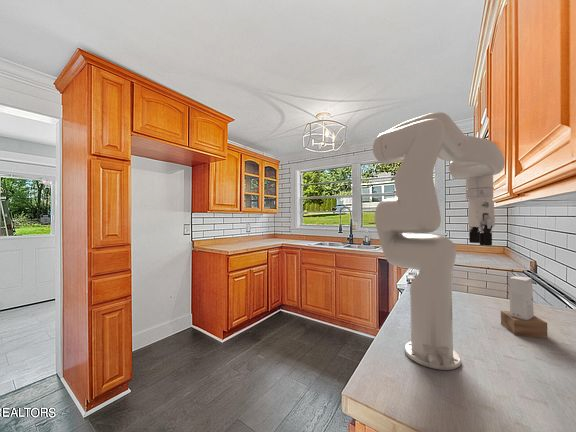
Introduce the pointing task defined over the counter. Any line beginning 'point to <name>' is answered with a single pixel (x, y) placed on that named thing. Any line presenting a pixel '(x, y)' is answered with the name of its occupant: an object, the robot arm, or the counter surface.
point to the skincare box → (521, 297)
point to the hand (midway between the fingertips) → (480, 244)
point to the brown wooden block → (524, 325)
